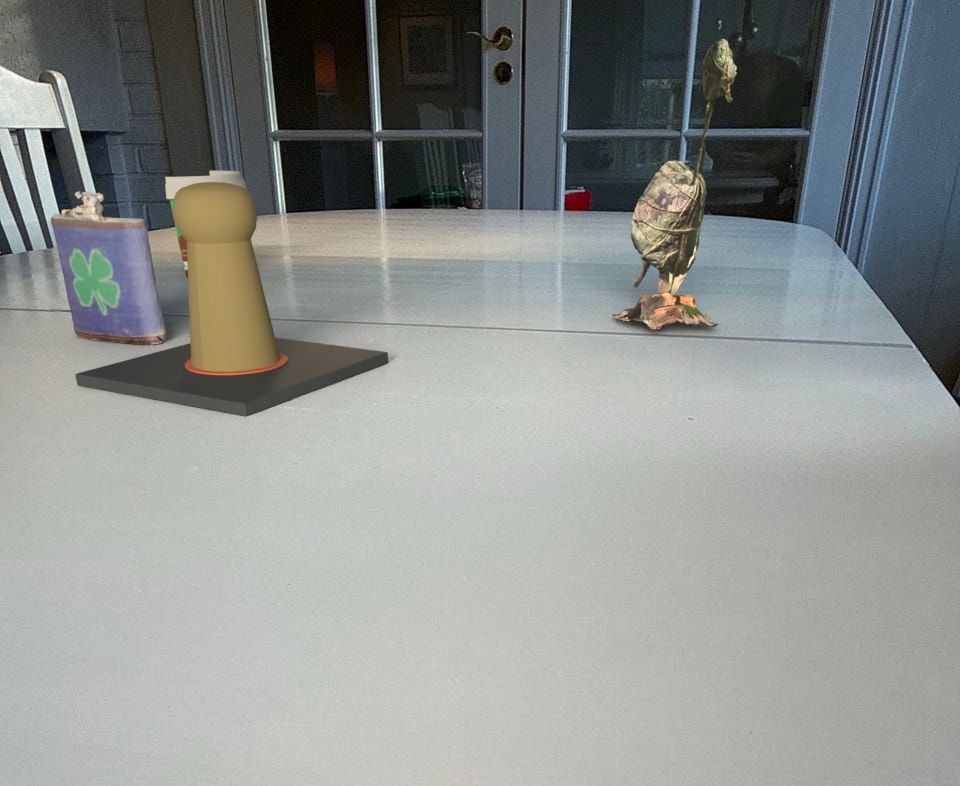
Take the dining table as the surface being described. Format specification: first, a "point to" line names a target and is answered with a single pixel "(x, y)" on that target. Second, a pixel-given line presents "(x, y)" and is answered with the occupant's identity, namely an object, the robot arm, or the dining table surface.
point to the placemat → (233, 376)
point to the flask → (108, 274)
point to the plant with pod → (676, 216)
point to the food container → (179, 182)
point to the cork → (224, 279)
